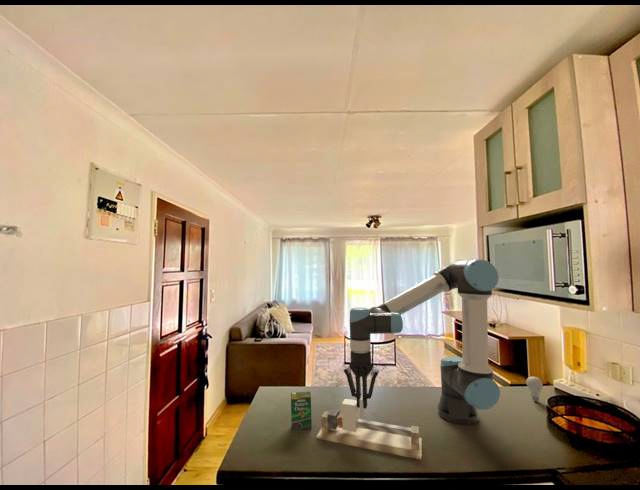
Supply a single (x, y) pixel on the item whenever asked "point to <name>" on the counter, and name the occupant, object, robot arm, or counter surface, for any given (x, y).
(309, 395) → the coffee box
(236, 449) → the counter surface
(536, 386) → the lightbulb
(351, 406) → the sleeve
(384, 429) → the stand
